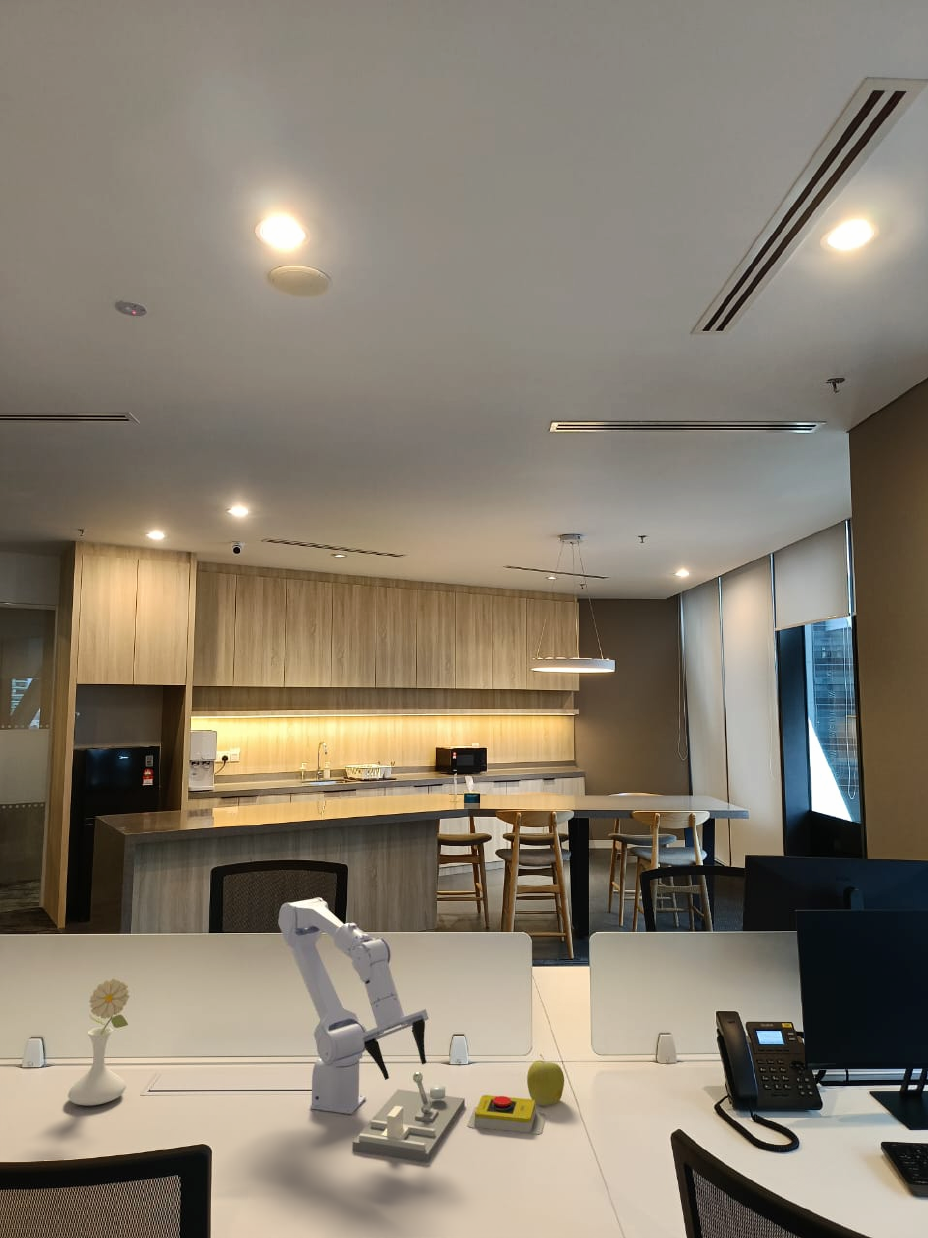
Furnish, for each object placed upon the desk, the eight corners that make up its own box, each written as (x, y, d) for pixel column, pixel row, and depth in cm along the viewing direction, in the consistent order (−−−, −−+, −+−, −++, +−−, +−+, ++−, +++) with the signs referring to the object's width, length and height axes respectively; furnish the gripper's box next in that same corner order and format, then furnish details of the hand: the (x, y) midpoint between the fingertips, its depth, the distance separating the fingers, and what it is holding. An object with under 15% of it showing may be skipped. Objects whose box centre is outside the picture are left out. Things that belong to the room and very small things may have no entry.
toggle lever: (421, 1115, 171) (409, 1076, 173) (425, 1110, 174) (413, 1071, 175) (430, 1113, 171) (418, 1073, 172) (434, 1107, 173) (422, 1069, 175)
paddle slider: (380, 1140, 162) (381, 1115, 163) (389, 1130, 166) (389, 1105, 167) (400, 1144, 161) (401, 1118, 161) (408, 1133, 165) (409, 1107, 166)
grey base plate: (352, 1150, 162) (352, 1136, 162) (397, 1096, 184) (397, 1084, 185) (427, 1162, 157) (427, 1148, 158) (464, 1106, 180) (464, 1093, 180)
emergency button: (475, 1087, 180) (546, 1094, 177) (475, 1109, 180) (546, 1116, 177) (466, 1107, 171) (541, 1114, 168) (466, 1130, 171) (541, 1138, 168)
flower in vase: (54, 1105, 179) (61, 981, 182) (96, 1084, 190) (102, 967, 193) (102, 1117, 174) (109, 989, 177) (143, 1094, 185) (148, 974, 188)
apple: (551, 1110, 176) (540, 1057, 179) (524, 1110, 181) (515, 1058, 185) (576, 1100, 181) (566, 1048, 184) (550, 1099, 186) (540, 1049, 190)
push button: (427, 1098, 178) (428, 1090, 178) (432, 1092, 181) (432, 1084, 181) (442, 1100, 177) (442, 1092, 177) (447, 1094, 180) (447, 1086, 180)
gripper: (350, 1011, 168) (371, 1084, 162) (419, 984, 172) (442, 1055, 166) (349, 1015, 174) (369, 1087, 168) (416, 990, 178) (438, 1058, 172)
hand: (405, 1071), depth 167 cm, fingers open, 7 cm apart
